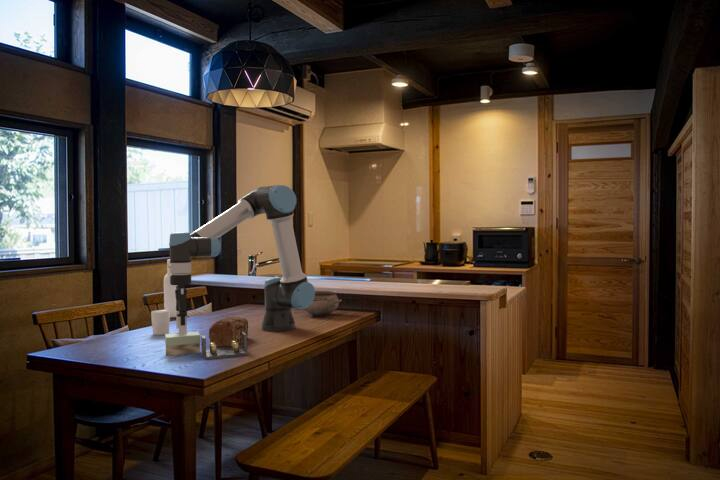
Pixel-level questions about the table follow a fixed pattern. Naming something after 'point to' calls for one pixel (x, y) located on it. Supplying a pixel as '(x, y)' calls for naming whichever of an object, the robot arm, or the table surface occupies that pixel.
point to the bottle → (169, 293)
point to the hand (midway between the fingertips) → (181, 331)
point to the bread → (228, 331)
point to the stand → (183, 349)
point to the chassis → (225, 349)
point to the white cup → (160, 321)
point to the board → (182, 338)
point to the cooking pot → (323, 303)
